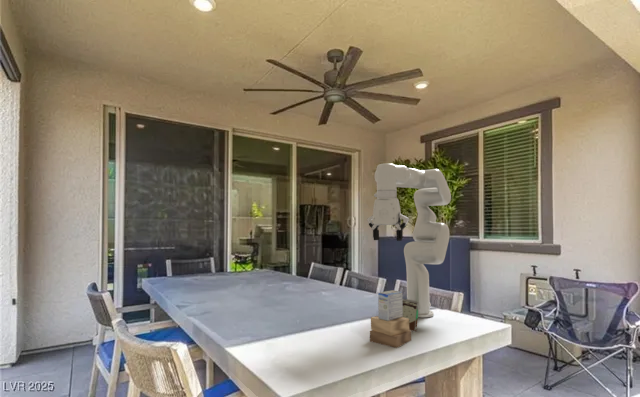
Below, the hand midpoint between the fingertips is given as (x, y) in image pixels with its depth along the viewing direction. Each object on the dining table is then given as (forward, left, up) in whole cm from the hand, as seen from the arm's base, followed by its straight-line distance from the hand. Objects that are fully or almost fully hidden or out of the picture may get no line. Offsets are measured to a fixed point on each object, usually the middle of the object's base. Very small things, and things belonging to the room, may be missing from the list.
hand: (387, 240), depth 137 cm
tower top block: (+12, +7, -30) cm, 33 cm away
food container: (-6, +5, -33) cm, 34 cm away
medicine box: (+12, +7, -26) cm, 29 cm away
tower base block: (+12, +7, -34) cm, 37 cm away
